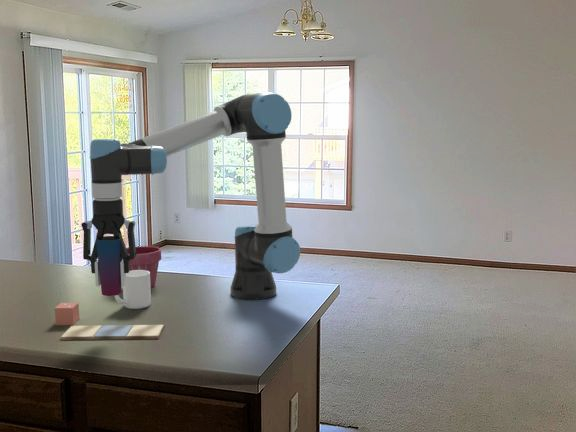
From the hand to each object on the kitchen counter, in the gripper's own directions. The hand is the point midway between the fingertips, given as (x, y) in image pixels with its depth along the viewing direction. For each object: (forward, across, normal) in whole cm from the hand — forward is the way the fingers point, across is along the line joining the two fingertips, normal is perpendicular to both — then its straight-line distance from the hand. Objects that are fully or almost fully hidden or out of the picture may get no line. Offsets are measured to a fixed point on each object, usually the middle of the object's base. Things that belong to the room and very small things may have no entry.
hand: (111, 284), depth 163 cm
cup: (+3, 0, 0) cm, 3 cm away
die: (+14, +15, -10) cm, 23 cm away
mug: (+14, 0, -24) cm, 28 cm away
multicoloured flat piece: (+13, 0, 0) cm, 13 cm away
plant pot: (+14, +2, -48) cm, 50 cm away
